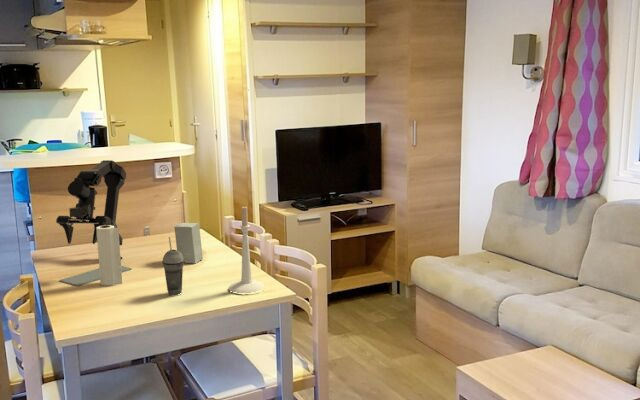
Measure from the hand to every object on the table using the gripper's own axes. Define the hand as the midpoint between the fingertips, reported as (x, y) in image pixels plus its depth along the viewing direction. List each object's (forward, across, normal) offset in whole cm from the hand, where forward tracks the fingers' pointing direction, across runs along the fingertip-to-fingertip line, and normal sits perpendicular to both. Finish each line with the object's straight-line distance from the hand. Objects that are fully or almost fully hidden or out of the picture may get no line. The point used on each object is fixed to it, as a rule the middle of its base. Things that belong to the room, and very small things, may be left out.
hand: (81, 243), depth 220 cm
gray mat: (+10, +3, +10) cm, 15 cm away
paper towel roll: (+15, +12, +2) cm, 19 cm away
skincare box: (+2, +34, +28) cm, 43 cm away
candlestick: (+16, +63, -2) cm, 65 cm away
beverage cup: (+19, +39, -7) cm, 44 cm away
